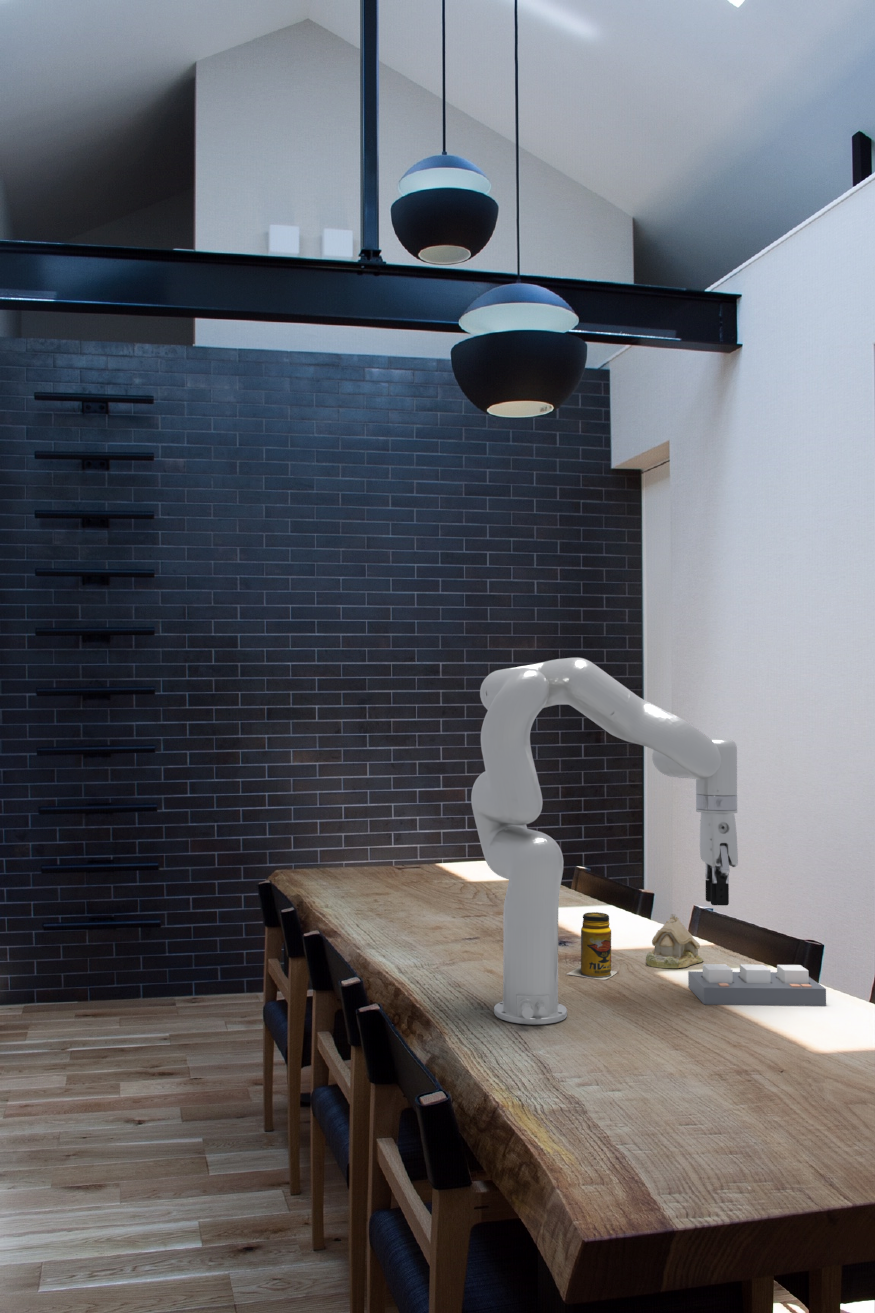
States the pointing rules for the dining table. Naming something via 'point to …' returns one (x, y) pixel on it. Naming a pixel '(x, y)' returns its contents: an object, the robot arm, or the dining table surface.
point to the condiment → (595, 947)
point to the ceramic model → (673, 946)
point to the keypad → (756, 992)
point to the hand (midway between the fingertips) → (717, 902)
